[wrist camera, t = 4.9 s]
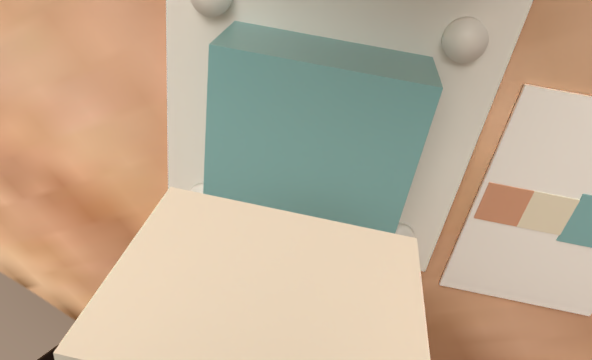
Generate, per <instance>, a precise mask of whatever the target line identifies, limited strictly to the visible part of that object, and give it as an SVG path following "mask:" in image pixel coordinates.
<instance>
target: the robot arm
mask: <svg viewBox="0 0 592 360" xmlns="http://www.w3.org/2000/svg"><path fill="white" fill-rule="evenodd" d="M58 345H59V344H58ZM58 345H57V346H56V347H54V348H53V349H52V350H50V351H49V352H48V353H46V354H45V355H43V356H42V357H40V358H39V359H38V360H54V355H53V352H54V351H55V349H56V348H57V347H58Z"/></svg>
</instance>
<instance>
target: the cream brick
mask: <svg viewBox="0 0 592 360" xmlns="http://www.w3.org/2000/svg"><path fill="white" fill-rule="evenodd" d="M53 355H54V360H430V351H429V342H428V333H427V324H426V315H425V306H424V297H423V288H422V279H421V270H420V261H419V252H418V243H417V238H413V237H408V236H404V235H399V234H394V233H389V232H384V231H380V230H375V229H370V228H365V227H361V226H356V225H351V224H346V223H341V222H337V221H332V220H327V219H322V218H318V217H313V216H308V215H303V214H298V213H294V212H289V211H284V210H279V209H274V208H270V207H265V206H260V205H255V204H251V203H246V202H241V201H236V200H231V199H227V198H222V197H217V196H212V195H207V194H203V193H198V192H193V191H188V190H184V189H179V188H174V187H170V188H169V189H168V190H167V192H166V193H165V195H164V196H163V197H162V199H161V200H160V202H159V203H158V205H157V206H156V207H155V209H154V210H153V212H152V213H151V215H150V216H149V217H148V219H147V220H146V222H145V223H144V224H143V226H142V227H141V229H140V230H139V232H138V233H137V234H136V236H135V237H134V239H133V240H132V241H131V243H130V244H129V246H128V247H127V249H126V250H125V251H124V253H123V254H122V256H121V257H120V259H119V260H118V261H117V263H116V264H115V266H114V267H113V268H112V270H111V271H110V273H109V274H108V276H107V277H106V278H105V280H104V281H103V283H102V284H101V285H100V287H99V288H98V290H97V291H96V293H95V294H94V295H93V297H92V298H91V300H90V301H89V303H88V304H87V305H86V307H85V308H84V310H83V311H82V312H81V314H80V315H79V317H78V318H77V320H76V321H75V322H74V324H73V325H72V327H71V328H70V330H69V331H68V332H67V334H66V335H65V337H64V338H63V339H62V341H61V342H60V344H59V345H58V347H57V348H56V349H55V351H54V352H53Z"/></svg>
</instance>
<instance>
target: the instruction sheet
mask: <svg viewBox="0 0 592 360" xmlns="http://www.w3.org/2000/svg"><path fill="white" fill-rule="evenodd" d="M439 285H441V286H446V287H451V288H456V289H461V290H465V291H470V292H475V293H480V294H485V295H489V296H494V297H499V298H504V299H509V300H514V301H518V302H523V303H528V304H533V305H538V306H543V307H547V308H552V309H557V310H562V311H567V312H571V313H576V314H581V315H586V316H590V315H591V314H592V96H589V95H584V94H578V93H573V92H567V91H562V90H557V89H551V88H546V87H540V86H535V85H530V84H524V85H523V87H522V90H521V92H520V94H519V97H518V99H517V101H516V104H515V106H514V108H513V111H512V113H511V115H510V118H509V120H508V122H507V125H506V127H505V129H504V132H503V134H502V136H501V139H500V141H499V143H498V146H497V148H496V150H495V153H494V155H493V157H492V160H491V162H490V164H489V167H488V169H487V171H486V174H485V176H484V179H483V181H482V183H481V186H480V188H479V190H478V193H477V195H476V197H475V200H474V202H473V204H472V207H471V209H470V211H469V214H468V216H467V218H466V221H465V223H464V225H463V228H462V230H461V232H460V235H459V237H458V239H457V242H456V244H455V246H454V249H453V251H452V253H451V256H450V258H449V260H448V263H447V265H446V267H445V270H444V272H443V274H442V277H441V279H440V281H439Z"/></svg>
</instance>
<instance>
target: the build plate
mask: <svg viewBox="0 0 592 360" xmlns="http://www.w3.org/2000/svg"><path fill="white" fill-rule="evenodd" d="M532 2H533V0H166V49H167V137H168V189H169V188H170V187H174V188H179V189H184V190H188V191H193V192H198V193H203V194H207V195H212V196H217V197H222V198H227V199H231V200H236V201H241V202H246V203H251V204H255V205H260V206H265V207H270V208H274V209H279V210H284V211H289V212H294V213H298V214H303V215H308V216H313V217H318V218H322V219H327V220H332V221H337V222H341V223H346V224H351V225H356V226H361V227H365V228H370V229H375V230H380V231H384V232H389V233H394V234H399V235H404V236H408V237H413V238H417V243H418V252H419V261H420V270H421V271H424V272H425V271H426V268H427V266H428V263H429V261H430V258H431V256H432V253H433V251H434V248H435V246H436V243H437V241H438V238H439V236H440V233H441V231H442V228H443V226H444V223H445V221H446V218H447V216H448V213H449V211H450V208H451V206H452V203H453V201H454V198H455V196H456V193H457V191H458V188H459V186H460V183H461V181H462V178H463V176H464V173H465V170H466V168H467V165H468V163H469V160H470V158H471V155H472V153H473V150H474V148H475V145H476V143H477V140H478V138H479V135H480V133H481V130H482V128H483V125H484V123H485V120H486V118H487V115H488V113H489V110H490V108H491V105H492V103H493V100H494V98H495V95H496V93H497V90H498V88H499V85H500V83H501V80H502V78H503V75H504V73H505V70H506V68H507V65H508V63H509V60H510V58H511V55H512V53H513V50H514V48H515V45H516V43H517V40H518V38H519V35H520V33H521V30H522V28H523V25H524V22H525V20H526V17H527V15H528V12H529V10H530V7H531V5H532Z"/></svg>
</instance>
